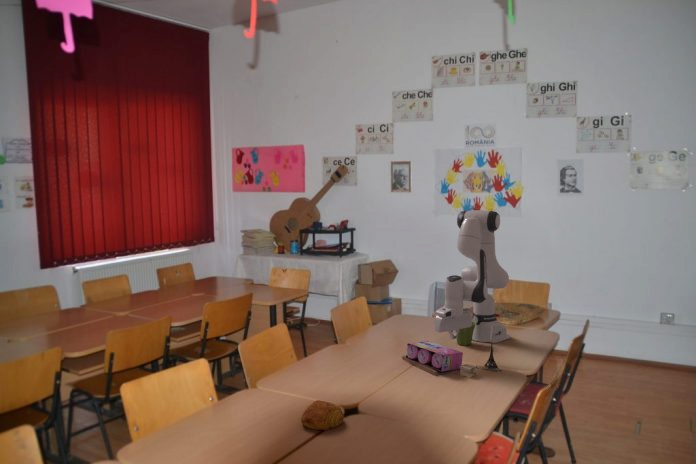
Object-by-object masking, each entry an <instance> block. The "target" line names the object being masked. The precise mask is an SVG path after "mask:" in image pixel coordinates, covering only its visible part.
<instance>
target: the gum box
mask: <svg viewBox="0 0 696 464" xmlns="http://www.w3.org/2000/svg"><path fill="white" fill-rule="evenodd" d="M406 346H407V347H406V355H405V356H406V358H407V359H409V360H411V361H414V362H417V363H420V364H423V365H426V366H429V367H431V368H434V369H436V370H439V371H441V372H442V371H449V370H456V369H457V370H460V366H462V364H463V355H464V352H463V351H459V350H456V349H454V348H451V347H448V346H443V345H441V344H439V343H435V342H432V341H428V340H422V341H416V342H414V341H413V342H407V344H406Z"/></svg>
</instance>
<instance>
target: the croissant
mask: <svg viewBox="0 0 696 464" xmlns="http://www.w3.org/2000/svg"><path fill="white" fill-rule="evenodd" d="M344 417H345V415H344V413H343V411H342V409H341V407H340V406H338V405H336V404H334V403H333V402H329V401H325V400H319V399H317V400H315V401H313V402H312V403H311V404H309V405H306V407H305V408H304V410H303V413H302V415H301V418H300V421H301V424H302V425H303V426H305V427H306V428H308V429H312V430H315V431H316V430H318V431H320V430H323V431H327V430H328V431H329V430H330V429H331V428H332V429H333V428H335V427H338V426H340V425H341V424H342V423H343V422H344V419H345V418H344Z"/></svg>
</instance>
